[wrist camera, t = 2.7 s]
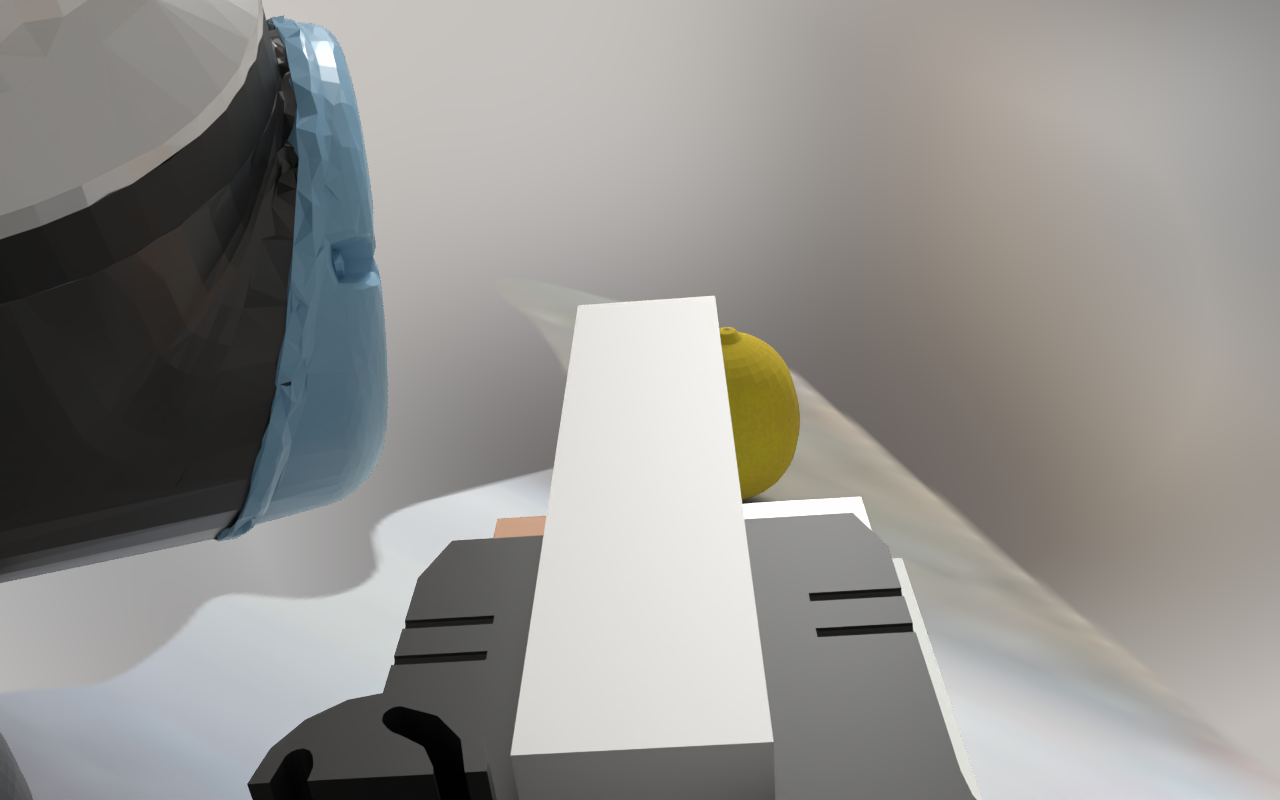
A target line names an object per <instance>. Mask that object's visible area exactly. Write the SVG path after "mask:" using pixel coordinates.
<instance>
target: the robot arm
mask: <svg viewBox="0 0 1280 800" xmlns="http://www.w3.org/2000/svg"><path fill="white" fill-rule="evenodd" d="M375 247H376V245H375V236H374V229H373V200H372V193H371V185H370V178H369V171H368V164H367V158H366V151H365V145H364V139H363V133H362V127H361V122H360V117H359V112H358V106H357V101H356V96H355V92H354V88H353V84H352V80H351V76H350V73H349V70H348V66H347V63H346V60H345V56H344V53H343V51H342V48H341V46H340V44H339V43H338V41H337V39H336V37H334V35H333V34H332V33H331V32H330V31H328V30H327V29H325V28H324V27H323V26H320V25H316V24H312V23H300V22H296V21H294V20H291V19H284V16H279V17H273V18H270V19H268V20H266V18H265V14H264V10H263V6H262V0H0V583H3V582H7V581H13V580H17V579H22V578H27V577H32V576H37V575H42V574H46V573H51V572H56V571H61V570H65V569H70V568H75V567H80V566H84V565H90V564H95V563H99V562H104V561H109V560H114V559H119V558H123V557H128V556H133V555H137V554H143V553H148V552H152V551H157V550H162V549H167V548H172V547H176V546H181V545H186V544H191V543H196V542H201V541H205V540H210V539H215V540H217V541H223V540H229V539H235V538H238V537H240V536H241V535H243V534H245V533H246V532H248V531H249V530H250V529H252V528H253V527H254V526H255V525H256V524H260V523H263V522H267V521H271V520H275V519H278V518H282V517H286V516H289V515H293V514H297V513H300V512H304V511H307V510H311V509H315V508H318V507H322V506H326V505H329V504H332V503H335V502H337V501H339V500H342V499H344V498H346V497H347V496H349V495H350V494H352V493H353V492H354V491H356V490H357V489H358V488H360V486H361V485H362V484H363V483H364V482H365V481H366V480H367V479H368V478H369V476H370V475H371V473H372V472H373V470H374V468H375V467H376V465H377V463H378V460H379V458H380V456H381V453H382V449H383V445H384V441H385V434H386V425H387V409H388V379H387V378H388V377H387V350H386V332H385V318H384V309H383V298H382V287H381V280H380V277H379V272H378V267H377V265H376V262H375V260H374V258H373V255H374V251H375ZM405 623H406V627H405V629H402V632H401V636H400V639H399V642H398V645H397V649H396V652H395V655H394V658H395V663H394V665H391V668H390V671H389V675H388V678H387V681H386V685H385V688H384V691H383V693H381V694H376V695H371V696H366V697H361V698H355V699H350V700H347V701H345V702H342V703H340V704H338V705H336V706H334V707H332V708H330V709H327V710H325V711H323V712H321V713H319V714H317V715H315V716H312V717H310V718H308V719H306V720H305V721H303V722H302V723H301V724H300V725H299V726H297V727H296V728H295V729H294V730H292V731H291V732H290V733H289V734H288V735H286V736H285V737H284V738H283V739H282V740H280V741H279V742H278V743H277V744H275V745H274V746H273V747H272V748H271V749H270V750H269V752H268V753H267V755H266V756H265V758H264V759H263V761H262V762H261V764H260V765H259V767H258V768H257V770H256V771H255V773H254V775H253V776H252V778H251V779H250V781H249V782H248V784H247V785H248V788H249V790H250V793H251V796H252V799H253V800H977V799H976V798H975V797H974V796H973V795H972V793H971V790H970V788H969V786H968V784H967V782H966V780H965V778H964V776H963V774H962V772H961V770H960V767H959V764H958V761H957V758H956V755H955V752H954V748H953V745H952V742H951V739H950V736H949V733H948V730H947V727H946V724H945V721H944V718H943V715H942V711H941V708H940V705H939V702H938V699H937V696H936V693H935V690H934V687H933V684H932V681H931V677H930V674H929V671H928V668H927V665H926V662H925V659H924V656H923V653H922V650H921V647H920V644H919V640H918V637H917V634H916V632H914V631H913V622H912V619H911V616H910V613H909V610H908V606H907V603H906V600H905V597H904V596H902V591H901V585H900V582H899V579H898V576H897V573H896V569H895V566H894V563H893V560H892V557H891V554H890V551H889V548H888V546H887V545H886V544H885V543H884V542H883V541H882V540H881V539H880V538H879V537H878V536H877V535H876V534H875V533H874V532H873V531H872V530H871V529H869V528H868V527H867V526H866V525H865V524H864V523H863V522H862V521H861V520H860V519H859V518H858V517H857V516H856V515H855V514H854V513H853V512H851V513H835V514H819V515H802V516H786V517H770V518H753V519H744V513H743V506H742V498H741V491H740V483H739V476H738V468H737V460H736V453H735V445H734V438H733V430H732V422H731V415H730V407H729V400H728V392H727V385H726V377H725V369H724V362H723V354H722V347H721V339H720V331H719V325H718V317H717V309H716V301H715V296H704V297H690V298H677V299H663V300H648V301H634V302H619V303H605V304H591V305H578V310H577V316H576V323H575V330H574V336H573V343H572V350H571V356H570V363H569V370H568V376H567V384H566V390H565V397H564V403H563V410H562V417H561V423H560V430H559V436H558V443H557V449H556V456H555V464H554V469H553V476H552V483H551V489H550V496H549V503H548V509H547V516H546V523H545V529H544V535H539V536H523V537H506V538H490V539H474V540H457V541H452V542H451V543H450V544H449V545H448V546H447V547H446V548H445V549H444V550H443V551H442V553H441V554H440V555H439V556H438V557H437V558H436V559H435V560H434V561H433V562H432V563H431V565H430V566H429V567H428V568H427V569H426V570H425V571H424V572H423V573H422V574H421V576H420V577H419V578H418V580H417V583H416V587H415V590H414V593H413V596H412V600H411V603H410V606H409V610H408V613H407V616H406V619H405ZM0 800H33V798H32V795H31V792H30V790H29V787H28V785H27V783H26V781H25V779H24V777H23V775H22V773H21V771H20V769H19V766H18V764H17V762H16V760H15V758H14V756H13V754H12V752H11V750H10V748H9V746H8V744H7V742H6V740H5V739H4V737H3V736H2V734H1V733H0Z"/></svg>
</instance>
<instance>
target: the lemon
mask: <svg viewBox="0 0 1280 800" xmlns="http://www.w3.org/2000/svg"><path fill="white" fill-rule="evenodd" d="M719 331H720V339H721V347H722V354H723V362H724V369H725V377H726V385H727V392H728V400H729V407H730V415H731V422H732V430H733V438H734V445H735V453H736V460H737V468H738V476H739V483H740V491H741V498H742V500H743V499H746V498H749V497H753V496H755V495H758V494H760V493H762V492H764V491H765V490H767V489H768V488H770V487H771V486H772V485H774V484H775V483H776V482H777V481H778V480H779V479H780V478H781V477H782V475H783V474H784V473H785V471H786V470H787V468H788V467H789V465H790V463H791V461H792V459H793V456H794V453H795V450H796V445H797V441H798V436H799V428H800V413H799V405H798V399H797V395H796V391H795V387H794V384H793V380H792V377H791V374H790V372H789V369H788V367H787V365H786V364H785V362H784V361H783V359H782V358H781V357H780V356H779V354H778V353H777V352H776V351H775V350H774V349H773V348H772V347H771V346H769V345H768V344H767V343H765V342H764V341H762V340H760V339H758V338H756V337H754V336H752V335H749V334H746V333H741V332H737V331H736V330H735V329H734V328H731V327H723V328H720V329H719Z"/></svg>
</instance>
